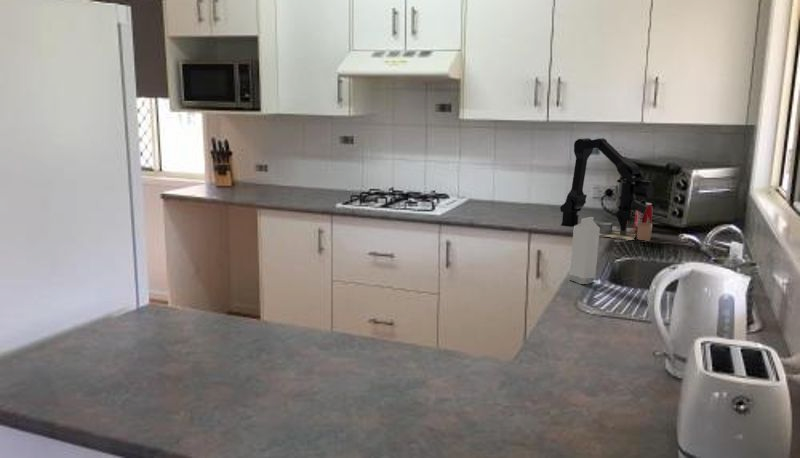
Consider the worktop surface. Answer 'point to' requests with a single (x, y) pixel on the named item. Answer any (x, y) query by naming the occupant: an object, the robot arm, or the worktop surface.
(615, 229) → the hammer
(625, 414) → the worktop surface
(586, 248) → the milk
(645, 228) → the socket block
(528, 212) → the worktop surface
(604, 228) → the sleeve mount
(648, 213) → the soda can
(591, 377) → the worktop surface
